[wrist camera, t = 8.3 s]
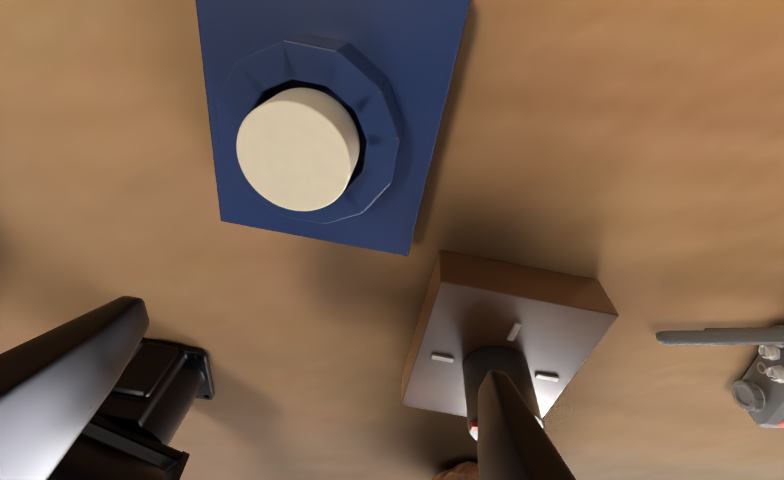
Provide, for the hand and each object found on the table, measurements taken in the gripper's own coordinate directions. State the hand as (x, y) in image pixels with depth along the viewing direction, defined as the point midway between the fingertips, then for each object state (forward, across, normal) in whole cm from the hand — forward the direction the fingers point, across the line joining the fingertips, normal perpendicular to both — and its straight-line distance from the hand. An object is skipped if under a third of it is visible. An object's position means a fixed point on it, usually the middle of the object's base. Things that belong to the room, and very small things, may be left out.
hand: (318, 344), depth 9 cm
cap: (+8, +2, -2) cm, 8 cm away
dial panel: (+12, -10, +10) cm, 19 cm away
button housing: (+12, +2, -2) cm, 13 cm away
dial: (+9, -10, +10) cm, 17 cm away
